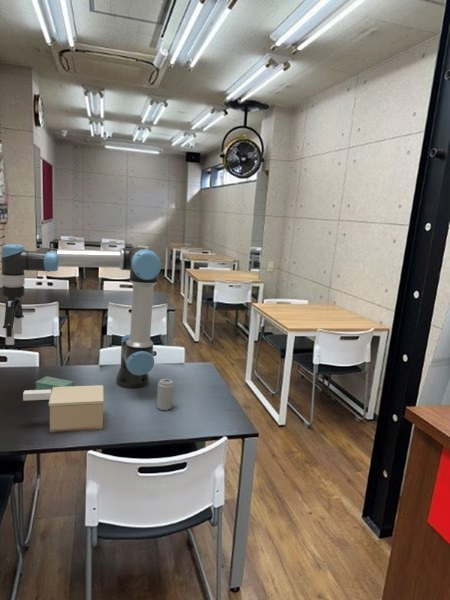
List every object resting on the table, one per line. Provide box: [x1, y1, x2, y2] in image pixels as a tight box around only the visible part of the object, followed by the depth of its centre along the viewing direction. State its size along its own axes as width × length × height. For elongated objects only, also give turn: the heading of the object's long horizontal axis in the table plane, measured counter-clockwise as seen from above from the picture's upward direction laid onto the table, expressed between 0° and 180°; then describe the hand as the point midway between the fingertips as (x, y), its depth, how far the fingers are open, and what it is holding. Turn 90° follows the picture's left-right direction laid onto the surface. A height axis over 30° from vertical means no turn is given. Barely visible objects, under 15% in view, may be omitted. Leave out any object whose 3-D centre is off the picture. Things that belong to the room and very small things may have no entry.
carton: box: [49, 403, 104, 434], centre depth 151 cm, size 18×14×10 cm
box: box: [34, 375, 75, 402], centre depth 169 cm, size 7×14×8 cm, turn 79°
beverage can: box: [156, 378, 174, 411], centre depth 168 cm, size 6×6×12 cm
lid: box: [22, 384, 104, 407], centre depth 149 cm, size 27×14×2 cm, turn 107°
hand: (14, 339), depth 156 cm, fingers open, 13 cm apart
